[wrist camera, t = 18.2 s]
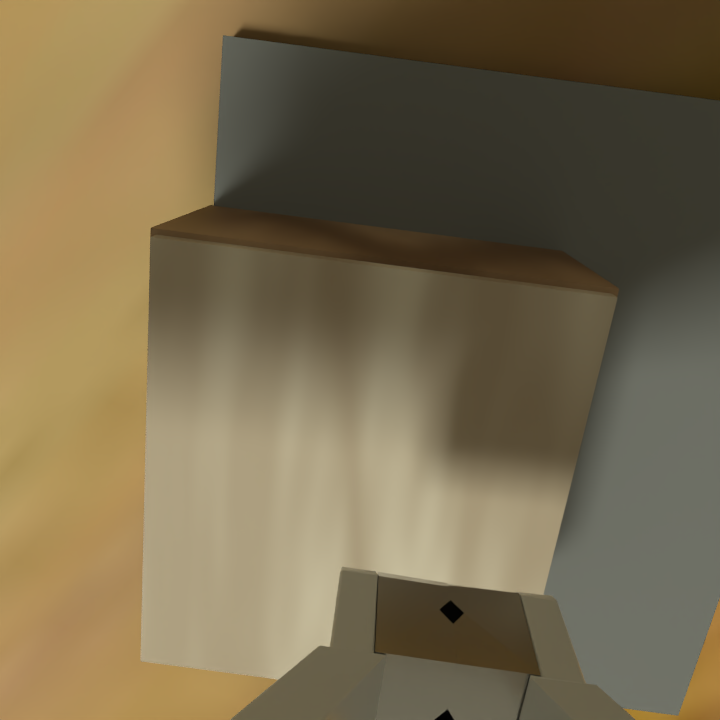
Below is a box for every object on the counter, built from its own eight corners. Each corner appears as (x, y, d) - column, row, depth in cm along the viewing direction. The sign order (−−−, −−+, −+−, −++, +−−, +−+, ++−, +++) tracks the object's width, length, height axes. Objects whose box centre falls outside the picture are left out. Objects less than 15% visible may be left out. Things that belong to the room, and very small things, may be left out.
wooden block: (625, 292, 11) (144, 229, 11) (518, 715, 14) (135, 664, 14) (562, 250, 15) (210, 205, 15) (489, 584, 18) (193, 545, 18)
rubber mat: (868, 122, 15) (887, 122, 14) (669, 698, 20) (678, 715, 19) (229, 39, 15) (223, 35, 14) (195, 635, 20) (189, 650, 19)
